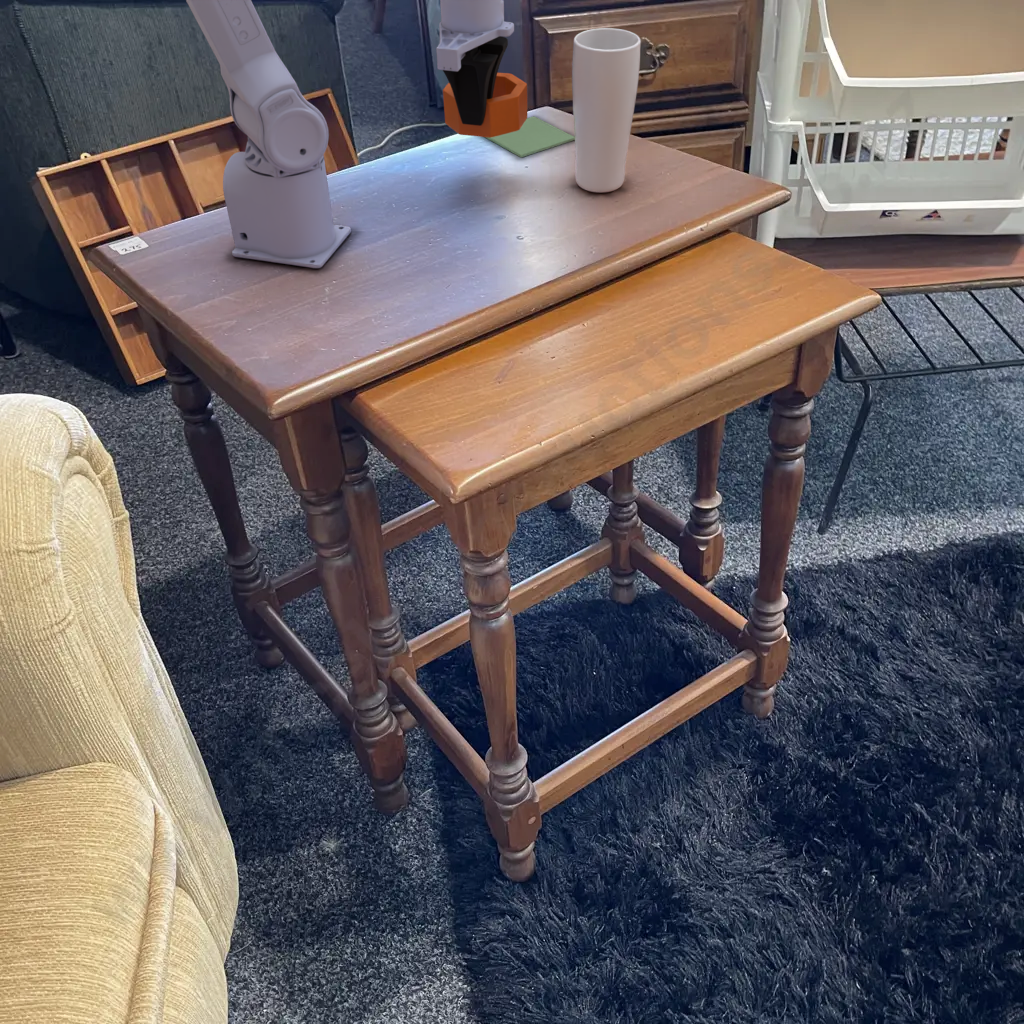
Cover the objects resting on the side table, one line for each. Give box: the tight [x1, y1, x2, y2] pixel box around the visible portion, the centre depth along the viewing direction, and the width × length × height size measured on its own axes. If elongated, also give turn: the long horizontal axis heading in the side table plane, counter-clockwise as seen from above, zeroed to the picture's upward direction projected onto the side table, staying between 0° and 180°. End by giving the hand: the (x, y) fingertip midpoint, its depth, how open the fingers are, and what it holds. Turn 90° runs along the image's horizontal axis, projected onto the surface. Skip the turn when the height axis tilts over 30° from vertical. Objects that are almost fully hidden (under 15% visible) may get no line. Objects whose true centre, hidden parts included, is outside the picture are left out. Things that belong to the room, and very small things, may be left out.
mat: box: [484, 115, 575, 158], centre depth 116 cm, size 8×8×1 cm
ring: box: [442, 72, 528, 138], centre depth 101 cm, size 8×8×4 cm
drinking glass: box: [571, 27, 642, 194], centre depth 102 cm, size 7×7×15 cm
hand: (475, 120), depth 99 cm, fingers closed on ring
